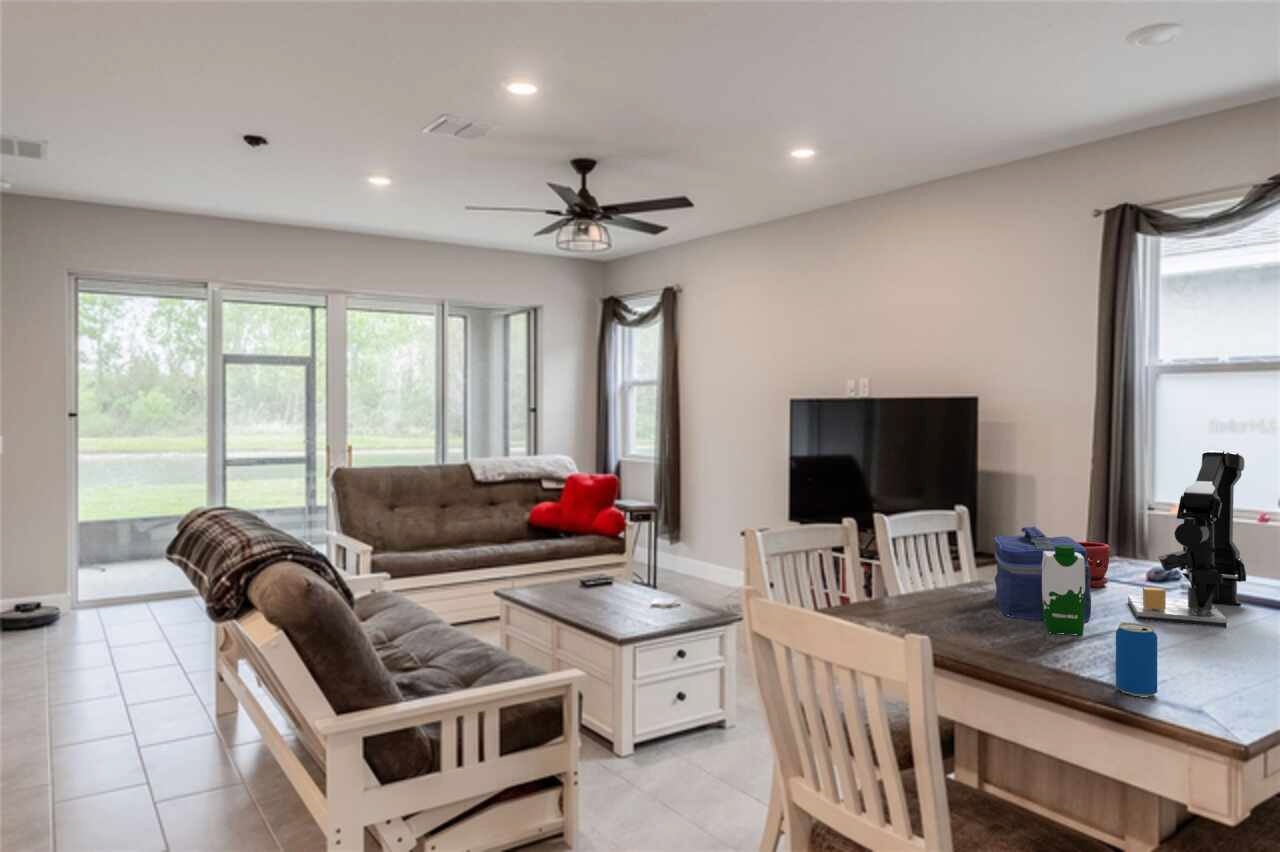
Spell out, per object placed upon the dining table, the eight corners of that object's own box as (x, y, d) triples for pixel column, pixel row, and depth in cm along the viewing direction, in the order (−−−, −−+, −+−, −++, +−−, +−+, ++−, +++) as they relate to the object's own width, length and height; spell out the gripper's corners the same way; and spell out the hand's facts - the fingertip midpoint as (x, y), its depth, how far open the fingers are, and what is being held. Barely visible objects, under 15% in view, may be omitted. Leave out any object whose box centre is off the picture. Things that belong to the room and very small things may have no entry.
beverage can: (1163, 700, 146) (1163, 632, 146) (1123, 697, 147) (1123, 631, 147) (1148, 688, 152) (1148, 623, 152) (1110, 686, 154) (1110, 621, 154)
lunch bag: (989, 593, 233) (989, 520, 233) (1072, 597, 227) (1071, 523, 227) (1003, 619, 203) (1003, 536, 203) (1099, 625, 197) (1099, 540, 197)
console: (1128, 602, 220) (1128, 594, 220) (1209, 608, 212) (1209, 600, 212) (1137, 619, 201) (1137, 611, 201) (1226, 627, 194) (1226, 618, 194)
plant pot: (1110, 582, 245) (1110, 542, 245) (1108, 590, 234) (1108, 548, 234) (1061, 578, 252) (1061, 539, 252) (1056, 585, 241) (1056, 545, 241)
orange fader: (1142, 610, 206) (1142, 587, 206) (1163, 611, 205) (1163, 588, 205) (1144, 613, 204) (1144, 589, 204) (1165, 614, 202) (1165, 590, 202)
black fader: (1188, 611, 205) (1188, 587, 205) (1209, 612, 203) (1209, 589, 203) (1190, 613, 202) (1190, 590, 202) (1211, 615, 201) (1211, 591, 200)
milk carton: (1045, 634, 189) (1045, 547, 189) (1040, 624, 198) (1039, 541, 198) (1088, 637, 187) (1087, 549, 186) (1080, 627, 195) (1080, 543, 195)
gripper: (1155, 535, 214) (1155, 595, 215) (1167, 546, 197) (1167, 611, 198) (1206, 537, 210) (1206, 599, 210) (1223, 548, 193) (1223, 615, 193)
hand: (1199, 605), depth 203 cm, fingers closed on black fader, 3 cm apart
